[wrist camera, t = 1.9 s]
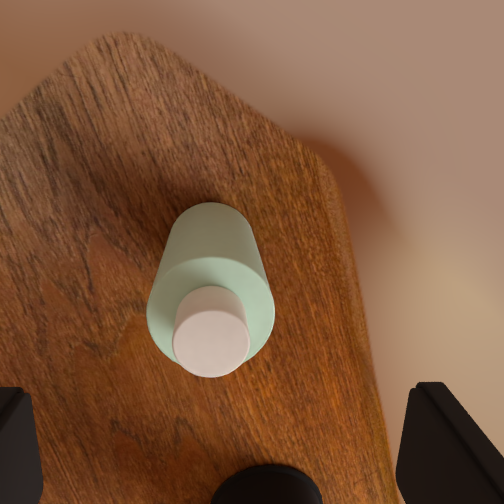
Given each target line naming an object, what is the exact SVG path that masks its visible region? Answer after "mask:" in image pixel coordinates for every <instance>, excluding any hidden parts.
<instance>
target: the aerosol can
mask: <svg viewBox="0 0 504 504" xmlns="http://www.w3.org/2000/svg"><path fill="white" fill-rule="evenodd" d="M210 504H323V501H322V495H321V493H320V491H319V489H318V487H317V486H316V484H315V483H314V482H313V481H312V480H311V479H310V478H309V477H308V476H306V475H305V474H304V473H302V472H300V471H298V470H296V469H293V468H289V467H285V466H278V465H265V466H258V467H253V468H249V469H247V470H244V471H242V472H239V473H237V474H236V475H234V476H232V477H231V478H229V479H228V480H227V481H226V482H224V483H223V484H222V485H221V486H220V488H219V489H218V490H217V491H216V492H215V494H214V496H213V498H212V500H211V503H210Z"/></svg>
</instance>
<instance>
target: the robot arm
mask: <svg viewBox="0 0 504 504" xmlns="http://www.w3.org/2000/svg"><path fill="white" fill-rule="evenodd" d="M396 482H397V485H398V488H399V490H400V492H401V495H402V497H403V499H404V501H405V503H406V504H504V458H503V456H502V455H501V454H500V452H499V451H498V450H497V449H496V447H495V446H494V445H493V444H492V443H491V441H490V440H489V439H488V438H487V436H486V435H485V434H484V433H483V431H482V430H481V429H480V428H479V426H478V425H477V424H476V423H475V422H474V420H473V419H472V418H471V416H470V415H469V414H468V413H467V411H466V410H465V409H464V408H463V406H462V405H461V404H460V403H459V401H458V400H457V399H456V398H455V397H454V395H453V394H452V393H451V392H450V390H449V389H448V388H447V387H446V385H445V384H444V383H442V382H419V383H418V384H417V385H416V388H412V389H411V390H410V392H409V397H408V403H407V408H406V414H405V420H404V426H403V431H402V437H401V443H400V449H399V454H398V460H397V466H396ZM42 490H43V475H42V469H41V462H40V455H39V448H38V441H37V435H36V428H35V421H34V414H33V407H32V400H31V396H30V394H29V393H24V391H23V389H22V388H21V387H0V504H38V502H39V500H40V498H41V495H42Z"/></svg>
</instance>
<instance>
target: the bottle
mask: <svg viewBox="0 0 504 504" xmlns="http://www.w3.org/2000/svg"><path fill="white" fill-rule="evenodd" d="M146 318H147V325H148V328H149V332H150V334H151V336H152V339H153V340H154V342H155V343H156V345H157V346H158V347H159V349H160V350H161V351H162V352H163V353H164V354H165V355H166V356H167V357H169V358H170V359H171V360H173V361H174V362H176V363H178V364H180V365H181V366H182V367H183V368H184V369H186V370H187V371H189V372H191V373H192V374H195V375H198V376H202V377H218V376H223V375H226V374H228V373H230V372H232V371H234V370H235V369H236V368H238V367H239V366H240V365H241V364H242V363H244V362H245V361H247V360H249V359H250V358H251V357H253V356H254V355H255V354H256V353H257V352H258V351H259V350H260V349H261V348H262V347H263V345H264V344H265V343H266V341H267V339H268V338H269V336H270V333H271V331H272V328H273V324H274V318H275V307H274V300H273V297H272V294H271V291H270V287H269V284H268V281H267V278H266V274H265V271H264V268H263V265H262V261H261V258H260V255H259V252H258V248H257V245H256V242H255V239H254V235H253V232H252V229H251V227H250V225H249V223H248V221H247V220H246V219H245V217H244V216H243V215H242V214H241V213H240V212H238V211H237V210H236V209H234V208H232V207H230V206H228V205H225V204H221V203H214V202H208V203H201V204H198V205H195V206H193V207H191V208H189V209H187V210H186V211H184V212H183V213H182V214H181V215H180V216H179V217H178V218H177V220H176V221H175V223H174V224H173V226H172V229H171V232H170V235H169V238H168V241H167V244H166V247H165V250H164V253H163V256H162V259H161V262H160V265H159V269H158V272H157V275H156V278H155V281H154V284H153V287H152V290H151V293H150V296H149V299H148V303H147V311H146Z"/></svg>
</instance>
